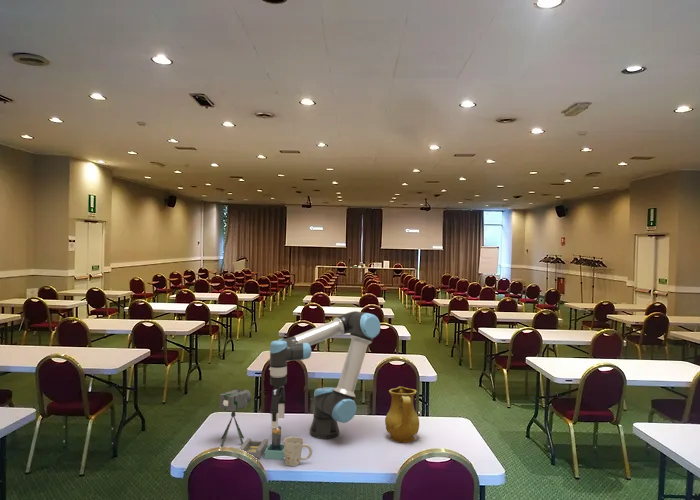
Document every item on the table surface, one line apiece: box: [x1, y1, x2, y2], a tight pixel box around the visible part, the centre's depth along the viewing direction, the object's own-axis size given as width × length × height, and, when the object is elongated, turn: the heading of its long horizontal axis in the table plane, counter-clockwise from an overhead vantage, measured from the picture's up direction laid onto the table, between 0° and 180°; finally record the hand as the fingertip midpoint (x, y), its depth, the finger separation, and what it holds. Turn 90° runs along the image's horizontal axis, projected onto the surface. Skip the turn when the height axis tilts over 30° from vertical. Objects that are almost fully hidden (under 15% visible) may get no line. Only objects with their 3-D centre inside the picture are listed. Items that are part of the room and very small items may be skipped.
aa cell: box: [271, 425, 282, 451], centre depth 217 cm, size 4×4×13 cm
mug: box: [283, 436, 313, 467], centre depth 210 cm, size 8×13×10 cm, turn 95°
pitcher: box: [384, 385, 420, 444], centre depth 242 cm, size 17×19×25 cm
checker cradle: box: [238, 437, 269, 460], centre depth 220 cm, size 10×14×4 cm
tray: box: [264, 443, 285, 461], centre depth 217 cm, size 8×8×4 cm
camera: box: [218, 387, 252, 447], centre depth 233 cm, size 16×16×25 cm
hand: (278, 422), depth 218 cm, fingers open, 13 cm apart
